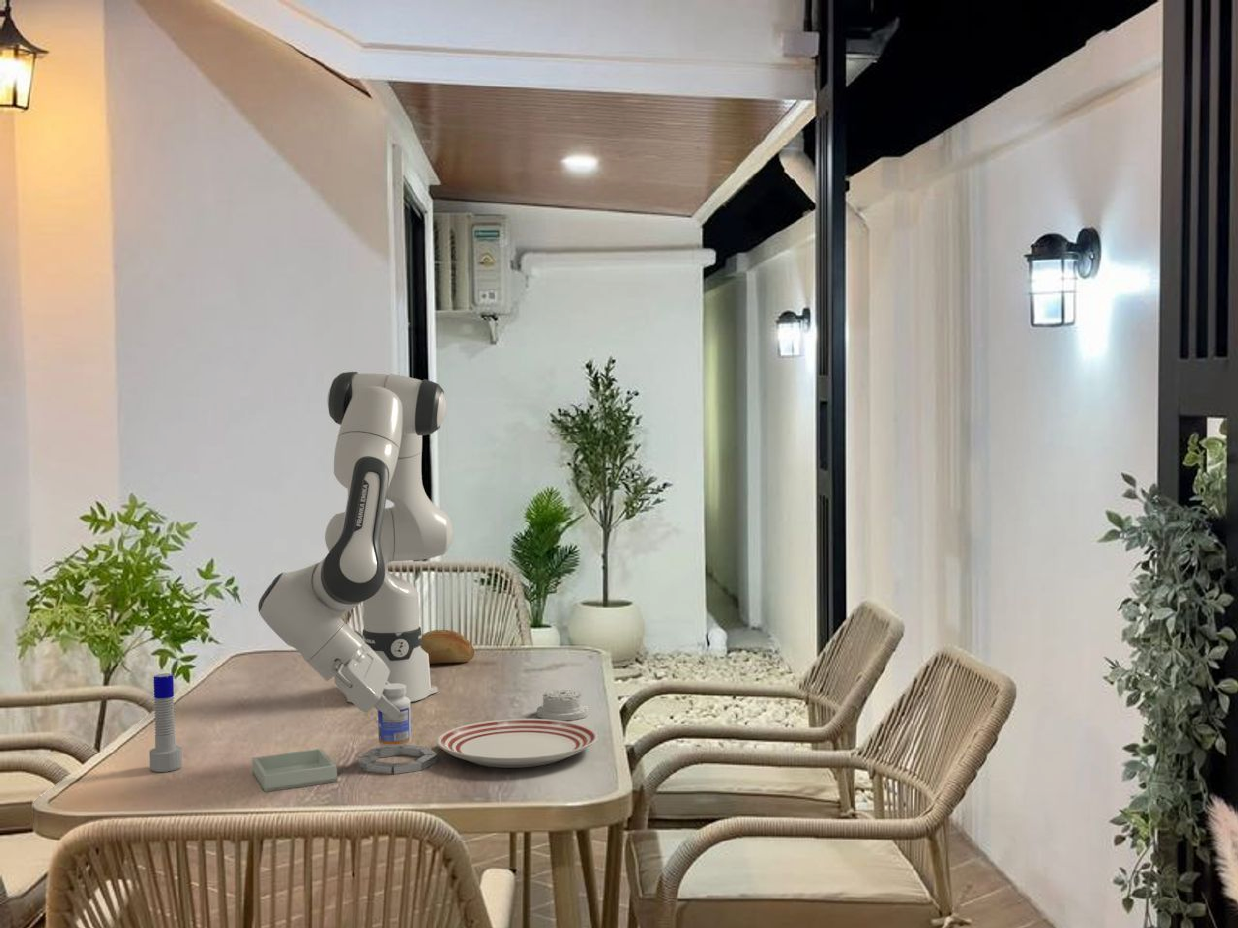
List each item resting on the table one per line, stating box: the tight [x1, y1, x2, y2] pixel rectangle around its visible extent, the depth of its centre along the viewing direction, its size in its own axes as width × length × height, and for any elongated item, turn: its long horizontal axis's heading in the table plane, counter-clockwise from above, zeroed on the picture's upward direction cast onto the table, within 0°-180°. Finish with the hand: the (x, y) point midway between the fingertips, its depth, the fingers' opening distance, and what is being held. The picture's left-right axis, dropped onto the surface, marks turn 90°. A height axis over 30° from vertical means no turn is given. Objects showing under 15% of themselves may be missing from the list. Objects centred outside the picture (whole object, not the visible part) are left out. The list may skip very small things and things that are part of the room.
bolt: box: [148, 672, 183, 773], centre depth 200 cm, size 16×5×5 cm
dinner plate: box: [436, 718, 599, 769], centre depth 207 cm, size 28×27×3 cm
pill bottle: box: [377, 683, 412, 747], centre depth 202 cm, size 5×5×10 cm
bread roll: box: [420, 629, 475, 665], centre depth 281 cm, size 10×15×8 cm, turn 97°
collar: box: [357, 744, 438, 775], centre depth 202 cm, size 12×12×1 cm
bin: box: [251, 748, 338, 793], centre depth 195 cm, size 11×11×2 cm
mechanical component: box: [536, 689, 590, 722], centre depth 233 cm, size 10×4×10 cm
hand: (399, 710), depth 202 cm, fingers closed on pill bottle, 5 cm apart
